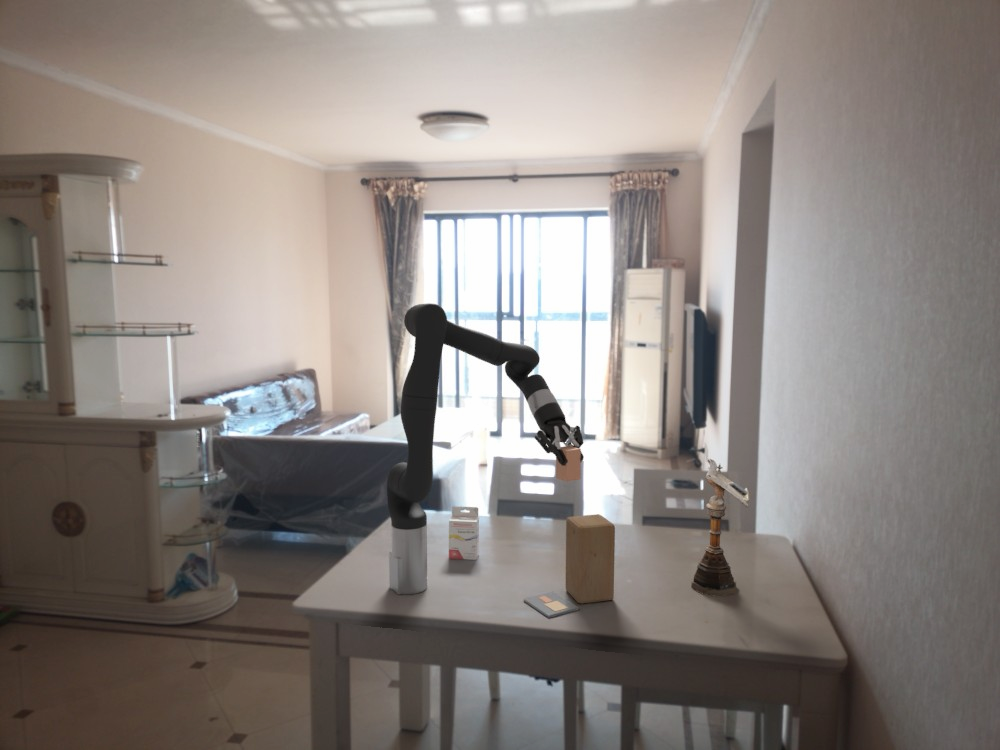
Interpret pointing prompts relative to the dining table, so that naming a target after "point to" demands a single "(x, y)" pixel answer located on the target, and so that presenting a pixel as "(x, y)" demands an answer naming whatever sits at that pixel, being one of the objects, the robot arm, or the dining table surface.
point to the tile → (551, 604)
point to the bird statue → (717, 538)
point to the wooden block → (590, 558)
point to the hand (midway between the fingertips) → (573, 462)
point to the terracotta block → (569, 464)
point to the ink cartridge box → (464, 533)
